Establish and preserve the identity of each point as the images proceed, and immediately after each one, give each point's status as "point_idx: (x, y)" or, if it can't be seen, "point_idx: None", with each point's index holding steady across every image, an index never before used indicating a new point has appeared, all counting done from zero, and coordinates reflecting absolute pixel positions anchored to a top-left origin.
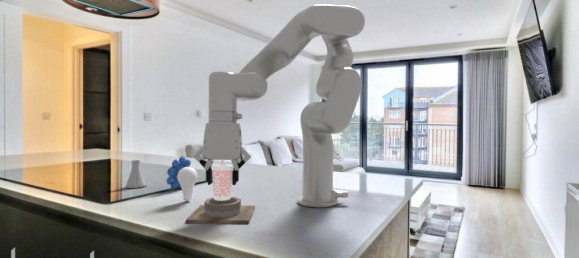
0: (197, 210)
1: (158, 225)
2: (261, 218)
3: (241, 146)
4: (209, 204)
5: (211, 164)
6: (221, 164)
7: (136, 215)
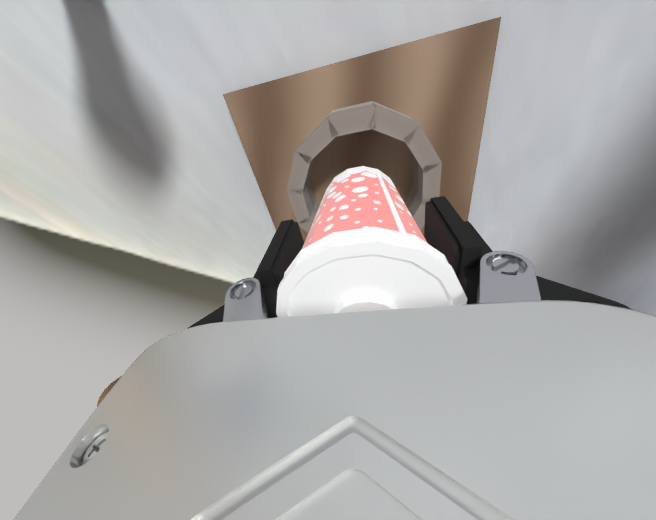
0: (263, 178)
1: (244, 277)
2: (508, 183)
3: None
4: None
5: (264, 311)
6: (348, 307)
7: (127, 226)
